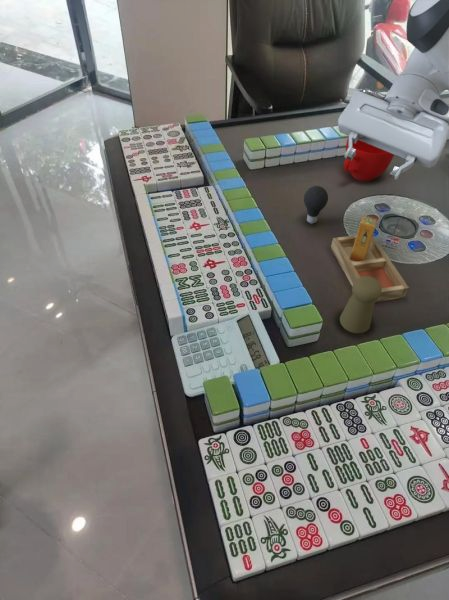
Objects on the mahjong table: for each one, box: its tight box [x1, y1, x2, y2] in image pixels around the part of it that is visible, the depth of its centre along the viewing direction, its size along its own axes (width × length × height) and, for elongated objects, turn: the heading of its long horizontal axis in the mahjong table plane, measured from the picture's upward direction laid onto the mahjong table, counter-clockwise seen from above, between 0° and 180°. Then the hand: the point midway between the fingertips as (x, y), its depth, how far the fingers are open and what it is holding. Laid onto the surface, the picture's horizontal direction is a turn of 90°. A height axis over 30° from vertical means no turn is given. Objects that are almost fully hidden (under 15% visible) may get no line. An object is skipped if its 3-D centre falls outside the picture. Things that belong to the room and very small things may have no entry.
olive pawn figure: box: [339, 276, 382, 334], centre depth 82 cm, size 6×6×11 cm
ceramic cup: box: [343, 135, 395, 182], centre depth 117 cm, size 13×17×10 cm
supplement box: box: [350, 215, 378, 261], centre depth 94 cm, size 3×3×10 cm
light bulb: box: [303, 185, 329, 225], centre depth 103 cm, size 6×6×10 cm
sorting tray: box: [330, 234, 409, 303], centre depth 94 cm, size 10×18×3 cm, turn 11°
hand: (370, 167), depth 82 cm, fingers open, 8 cm apart
